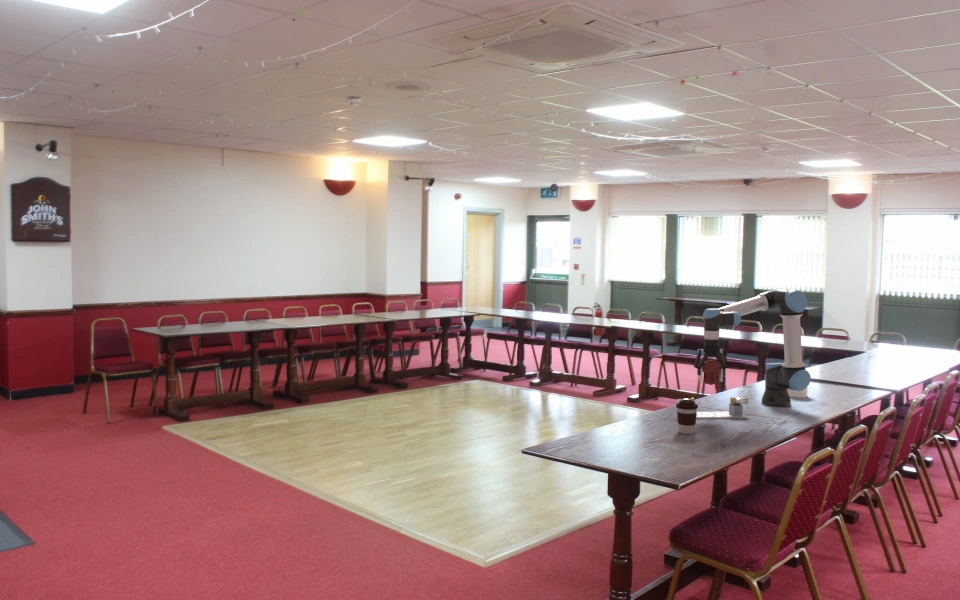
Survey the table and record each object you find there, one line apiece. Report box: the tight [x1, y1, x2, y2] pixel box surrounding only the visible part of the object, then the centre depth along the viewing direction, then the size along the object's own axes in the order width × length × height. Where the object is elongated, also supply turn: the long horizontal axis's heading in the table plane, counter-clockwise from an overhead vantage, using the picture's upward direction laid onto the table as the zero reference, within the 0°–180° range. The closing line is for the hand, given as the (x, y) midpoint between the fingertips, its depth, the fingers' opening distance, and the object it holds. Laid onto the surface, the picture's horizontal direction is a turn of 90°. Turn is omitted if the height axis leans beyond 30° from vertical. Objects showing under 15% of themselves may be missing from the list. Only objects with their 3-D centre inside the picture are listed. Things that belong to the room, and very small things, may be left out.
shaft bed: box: [676, 396, 749, 420], centre depth 389 cm, size 36×12×10 cm, turn 92°
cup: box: [788, 387, 808, 399], centre depth 440 cm, size 12×12×12 cm
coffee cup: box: [675, 400, 699, 435], centre depth 355 cm, size 10×10×15 cm
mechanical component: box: [701, 359, 721, 386], centre depth 388 cm, size 12×10×10 cm
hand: (710, 381), depth 388 cm, fingers closed on mechanical component, 10 cm apart
